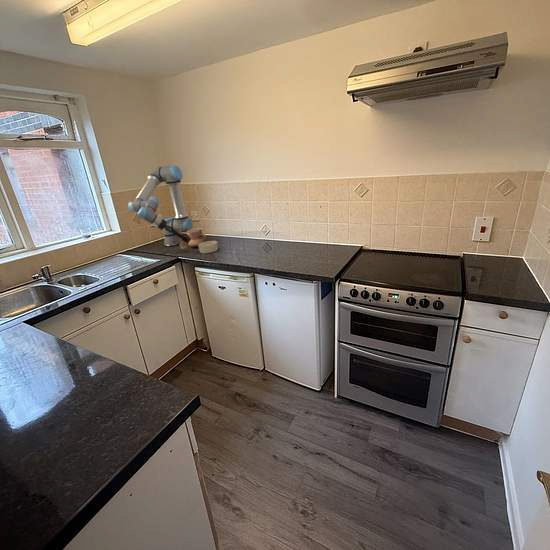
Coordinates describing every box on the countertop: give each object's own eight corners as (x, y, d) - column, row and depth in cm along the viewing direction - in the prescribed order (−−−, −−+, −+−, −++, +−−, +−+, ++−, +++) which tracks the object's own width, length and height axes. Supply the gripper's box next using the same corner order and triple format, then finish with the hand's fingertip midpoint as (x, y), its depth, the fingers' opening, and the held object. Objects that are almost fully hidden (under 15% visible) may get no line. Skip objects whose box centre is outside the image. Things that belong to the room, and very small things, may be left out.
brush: (182, 246, 234) (176, 227, 228) (188, 246, 233) (183, 226, 227) (179, 249, 229) (173, 229, 223) (186, 248, 228) (179, 228, 222)
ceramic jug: (184, 248, 246) (180, 232, 241) (195, 243, 258) (192, 227, 253) (201, 249, 238) (198, 232, 233) (212, 244, 250) (209, 227, 245)
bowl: (203, 248, 240) (202, 241, 238) (221, 247, 237) (219, 240, 235) (196, 254, 226) (195, 246, 224) (214, 253, 224) (213, 245, 222)
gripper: (154, 225, 223) (181, 242, 237) (158, 228, 210) (186, 246, 224) (160, 217, 224) (186, 234, 237) (164, 219, 211) (192, 237, 224)
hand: (186, 240), depth 230 cm, fingers closed on brush, 3 cm apart
